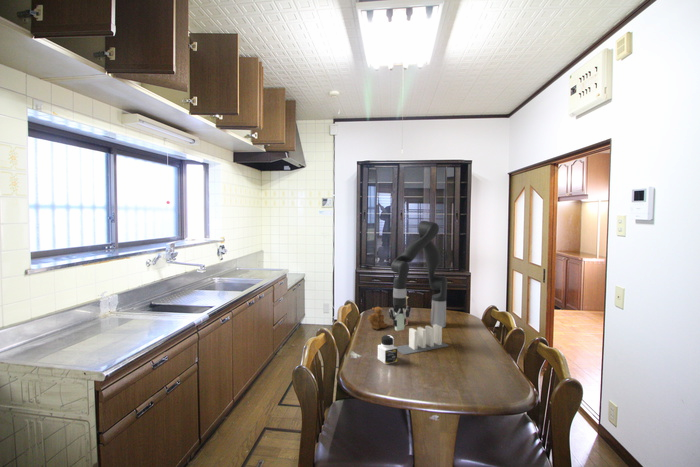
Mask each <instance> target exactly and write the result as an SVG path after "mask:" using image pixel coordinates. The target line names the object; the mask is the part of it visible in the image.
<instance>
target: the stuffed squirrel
mask: <svg viewBox="0 0 700 467" xmlns="http://www.w3.org/2000/svg"><path fill="white" fill-rule="evenodd" d="M372 310H373V312H374V313H371V314H369V316H368V317H367V321H368V323H369V324H370V325H371V328H372V330H377V331H378V330H379V329H385V328H387V327H388V326H389V325H388V324H387V323H385V322H386V321H385V315H384V314H383V312H384V311H383V308H382V307H380V306H376V307H372Z"/></svg>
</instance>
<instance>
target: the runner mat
mask: <svg viewBox="0 0 700 467" xmlns="http://www.w3.org/2000/svg"><path fill="white" fill-rule="evenodd" d="M396 347H397V353H400V354H401V355H403V356H406V355H411V354H416V353H420V352H425V351H432V350H437V349H442V348H447V347H450V345H449V344H447V343H445V342H443V341H442V345H438V344H436V343H434V346H432V347H430V346H429V345H427V344H426V348H421V347H420V346H418V345H417V349H416V350H414V349H412V348H410V347H409V343H408V344H403V345H399V346H396Z"/></svg>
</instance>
